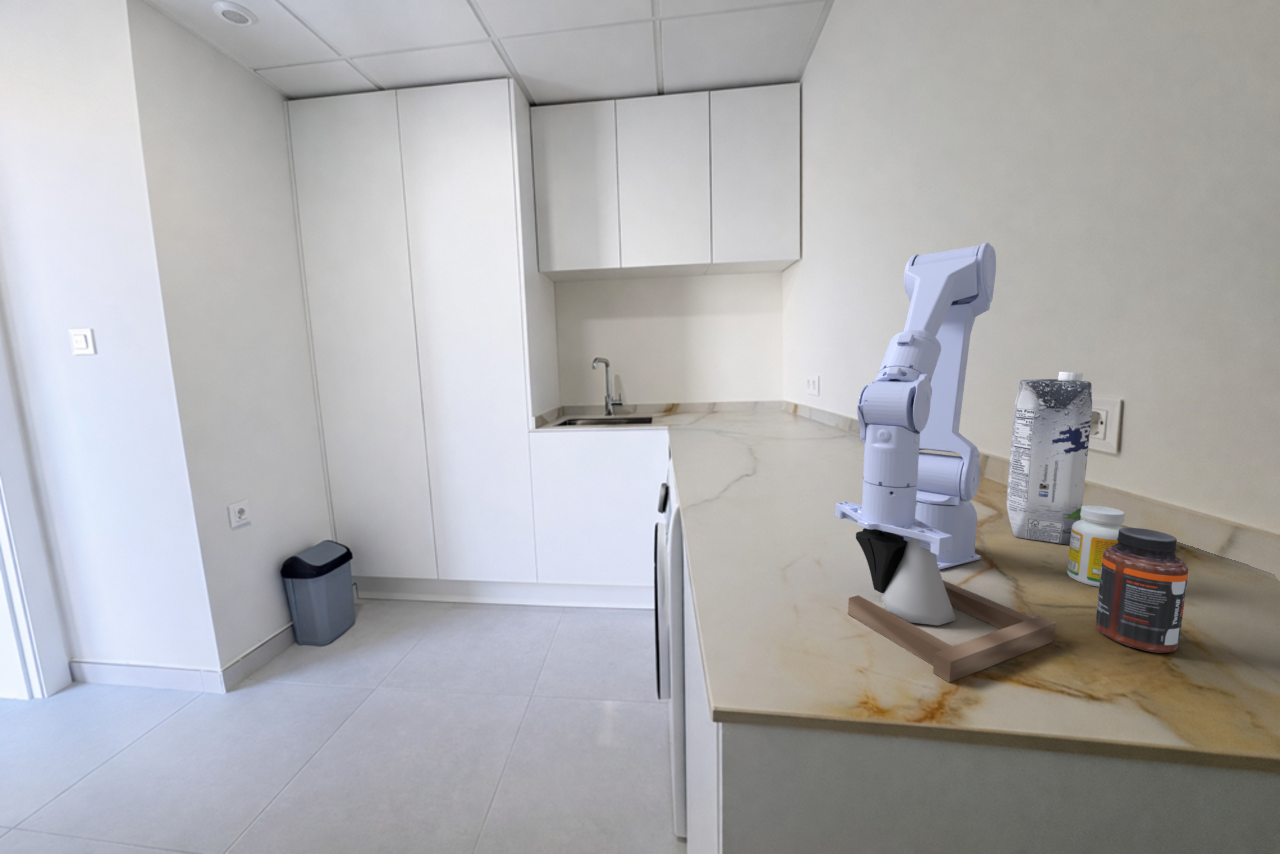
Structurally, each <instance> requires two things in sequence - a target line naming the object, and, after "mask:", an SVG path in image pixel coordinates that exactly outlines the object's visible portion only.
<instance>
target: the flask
mask: <svg viewBox="0 0 1280 854" xmlns="http://www.w3.org/2000/svg"><path fill="white" fill-rule="evenodd" d="M917 526H918V527H921V526H922V524H917ZM933 528H935V527H933ZM935 529H936V528H935ZM908 530H912V531H915V530H913V529H910V528H909V527H908ZM921 533H924V532H921ZM934 533H936V532H935V531H934ZM909 541H910V542H908V541H907V544H906V548H905V551H904V555H903V558H902V560H901V562H900V564H899V566H898V568H897V569H896V571H895V573H894V575H893V577H892V579H891V581H890V583H889V584H888V586H887V588H886V590H885V591H884V593H882V596H881V597H880V600H881V601H882V603H883V606H884V607H885V610H887V611H888V612H890V613H892V614H894V615H896V616H898V617H900V618H901V619H903V620H905V621H907V622H909V623H911V624H912V623H913V624H923V625H931V626H932V625H933V626H941V625H944V624H947V623H950V622H953V621H957V619H956V617H957V616H956V614H955V611H954V608H953V607H952V606H951V603H950V600H949V598H948V595H947V592H946V589H945V586H944V583H943V580H944V579H943V577H942V575H941V571H940V570H939V568H938V564H937V558H936V554H934V553H931V550H930V549H927V548H924V547H922V546H919V544H920V543H919V542H920V539H915V538H911V537H910V540H909Z"/></svg>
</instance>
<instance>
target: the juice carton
mask: <svg viewBox="0 0 1280 854" xmlns="http://www.w3.org/2000/svg"><path fill="white" fill-rule="evenodd" d="M1083 377H1084V373H1081V372H1072V371H1071V372H1070V371H1059V372H1058V377H1057V379H1054V378H1048V379H1047V378H1046V379H1045V378H1043V379H1022V380H1020V382H1019V385H1018V390H1017V395H1016V397H1015V402H1014V408H1013V409H1014V410H1013V420H1012V432H1011V444H1010V455H1009V464H1008V465H1009V467H1008V479H1007V490H1006V491H1007V492H1006V510H1007V515H1008V520H1009V524H1010V526H1011V530H1012V534H1013V535H1014V537H1015V538H1019V539H1025V540H1026V539H1027V540H1033V541H1034V540H1035V541H1041V542H1046V543H1054V544H1059V545H1067V546H1070V538H1071V530H1072V525H1073V524H1074V523H1075V522H1076V521H1079V520H1082V518H1081V515H1080V513H1081V507H1082V506H1083V501H1084V492H1085V483H1086V473H1087V465H1088V464H1087V463H1088V455H1089V446H1090V436H1091V426H1092V425H1091V424H1092V416H1093V392H1092V390H1093V389H1092V383H1091V381H1089V380H1088V381H1087V380H1083Z"/></svg>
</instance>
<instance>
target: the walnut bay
mask: <svg viewBox="0 0 1280 854" xmlns="http://www.w3.org/2000/svg"><path fill="white" fill-rule="evenodd" d="M942 580H943V583H944V586H945V589H946V592H947V595H948V598H949V600H950V603H951V606H952V608H953V609H954V608H955V609H957V610H959V611H961V612H963V613H965V614H968V615H970V616H972V617H975V618H976V619H978V620H980V621H983V622H985V623H987V624H990V625H991V626H993V627H995V628H997V629H998V630H995V631H993V632H990V633H986V634H984V635H981V636H979V637H975V638H973V639H970V640H967V641H965V642H961V643H959V644H956V645H951V644H950V643H947V642H946V641H944V640H941V639H940V638H938V637H936V636H934V635H932V634H931V633H929V632H928V631H925V630H924V629H921V628H919V627H917V626H916V625H914V624H912V622H908V621H906V620H904V619H902V618H901V617H899V616H897V615H895V614H893V613H891V612H890V611H888V610H887V609H886V608H882V606H880V605H878V604H875V603H874V602H872V601H870V600H868V599H867V598H864V597H862V596H860V595H855V596H851V597H848V602H847V603H848V606H847V607H848V609H847V615H849V616H851V617H852V618H854V619H855V620H857V621H859V622H860V623H862V624H863V625H865V626H866V627H869V629H872V630H874V631H875V632H877V633H879V634H880V635H882V636H883V637H885V638H887V639H889V640H890V641H892V642H893V643H895V644H897V645H899V647H901V648H903V649H905V650H906V651H908V652H909V653H911V654H913V655H915V656H916V657H918V658H920V659H922V660H923V661H925V662H927V663H928V664H929V665H932V666H933V670H932V671H933V672H932V673H933V674H934V675H936V676H938V677H940V678H941V679H942V680H944V681H946V682H948V683H952V682H954V681H957V680H960V679H962V678H964V677H966V676H970V675H972V674H975V673H976V672H977V673H978V672H981V671H982V670H985V669H988V668H991V667H992V666H994V665H995V666H996V665H997V664H1000V663H1002V662H1005V661H1007V660H1010V659H1013V658H1015V657H1018V656H1020V655H1022V654H1025V653H1028V652H1030V651H1033V650H1035V649H1038V648H1040V647H1041V648H1042V647H1043V646H1046V645H1048V644H1051V643H1054V642H1055V637H1056V630H1057V629H1056V627H1057V622H1055V621H1052V620H1050V619H1048V618H1046V617H1043V616H1040V615H1038V616H1035V617H1032V616H1030V615H1028V614H1025V613H1023V612H1020V611H1017V610H1015V609H1013V608H1010V607H1008V606H1005V605H1003V604H1001V603H999V602H996V601H994V600H991V599H989V598H986V597H984V596H982V595H979V594H977V593H975V592H972V591H970V590H967V589H965V588H962V587H961V586H959V585H956V584H953V583H951V582H949V581H946V580H944V579H942Z"/></svg>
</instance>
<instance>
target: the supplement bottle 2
mask: <svg viewBox="0 0 1280 854" xmlns="http://www.w3.org/2000/svg"><path fill="white" fill-rule="evenodd" d="M1117 541H1118V543H1117V544H1115V545H1114V546H1111V547H1109V548H1107V549H1106V550H1105V551H1104V553H1103V558H1102V567H1101V576H1100V585H1099V587H1098V595H1097V596H1098V598H1097V605H1096V614H1095V627H1096V628H1097V630H1098V631H1099V632H1100V633H1101V634H1102V635H1104V636H1106V637H1107V638H1109V639H1111V640H1113V641H1115V642H1116V643H1118V644H1121V645H1123V646H1126V647H1130V648H1133V649H1136V650H1140V651H1144V652H1151V653H1159V654H1166V653H1173V652H1175V651H1177V650H1178V648H1179V643H1180V641H1181V629H1182V623H1183V616H1184V615H1183V614H1184V606H1185V599H1186V592H1187V585H1188V577H1189V567H1188V566H1187V563H1185V562H1184V561H1183V560H1182V559H1181V558H1179V557H1177V555H1176V551H1177V542H1178V541H1177V538H1176V537H1175V536H1173V535H1172V534H1169V533H1166V532H1162V531H1158V530H1153V529H1147V528H1142V527H1139V528H1138V527H1123V528H1121V529H1119V533H1118V538H1117Z"/></svg>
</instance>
